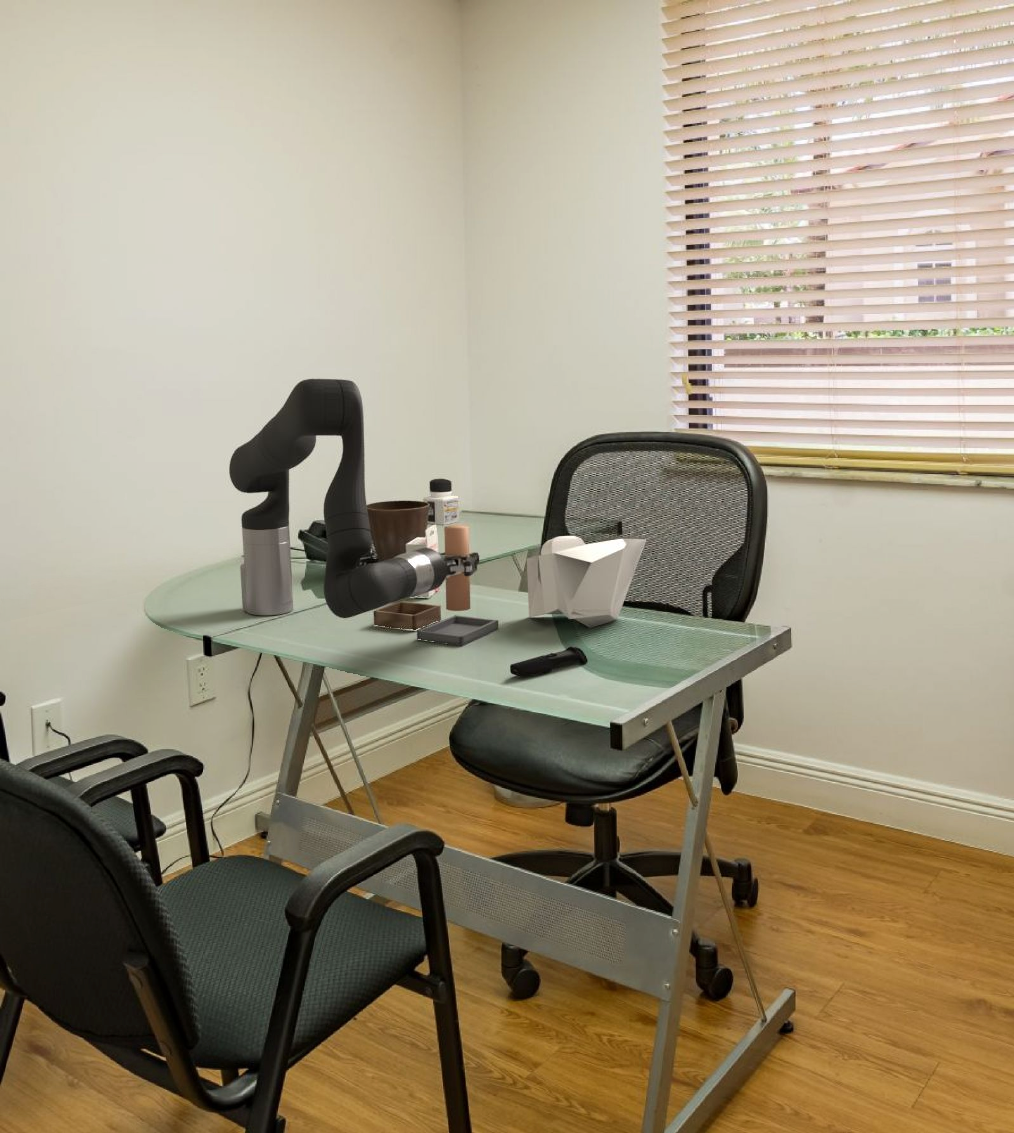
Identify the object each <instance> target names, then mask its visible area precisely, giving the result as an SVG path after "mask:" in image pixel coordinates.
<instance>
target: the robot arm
mask: <svg viewBox="0 0 1014 1133" xmlns="http://www.w3.org/2000/svg"><path fill="white" fill-rule="evenodd" d="M362 400H363V399H362V394H361V392H360V388H359V387H358V385H357V384H356V383H355V382H354V381H353V380H349V379H339V378H338V379H337V378H333V379H332V378H330V379H329V378H308V379H303V380H301V381H299V382H298V383H296V385H295V386H294V387H293V389H292V390H291V392H290V394H289V395H288V397H287V399H285V403H284V404H283V405H282V407H281V408H280V410H278V411H277V413H276V414H275V415H274V416H273V417H272V418H271V419H270V420H269V421H268V422H267V423H266V424H265V425H263V427H262V428H261V430H260V431H259V432H257V434H255V435H254V437H252V438H251V439H250V440H248V441H247V442H245V443H244V444H242V445H240V446H239V447H237V448H236V449H235V450H234V452H233V454H231V458H230V461H229V467H228V468H229V470H228V473H229V477H230V478H229V479H230V481H231V484H232V485H233V487H234V488H235V489H236V490H237V491H239V492H241V493H243V494H244V493H245V494H256V493H257V494H259V493H267V496H266V498H265V499H264V500H263V501H262V502H261V503H258V504H257V505H256V506H254V507H252V508H249V509H248V510H245V511H244V512H243V513H242V514H241V519H240V520H241V534H242V535H241V536H242V537H241V538H242V552H243V563H241V564H240V566H239V569H240V570H239V571H240V584H241V585H240V586H241V601H242V605H241V607H242V611H243V612H247V613H248V614H249V615H252V616H253V615H256V616H275V615H283V614H286V613H290V612H292V611H293V610H294V596H293V594H294V592H293V575H292V574H293V573H292V571H293V570H292V556H291V552H292V551H291V536H290V535H291V534H290V532H291V531H290V470H291V469H293V468H295V467H297V466H298V465H300V464H302V462H304V461H305V460H307V458H308V457H309V456H310V455H311V454H312V452H314V448H316V443H317V437H319V436H321V437H322V436H324V437H325V436H327V437H328V436H330V437H332V436H336V437H337V436H338V437H339V436H340V437H341V441H342V454H341V459H340V462H339V464H338V467H337V470H336V472H335V474H334V476H333V478H332V481H331V483H330V484H329V486H328V488H327V491H326V494H325V497H324V502H323V520H324V526H325V532H326V540H327V554H326V563H325V569H324V571H325V572H324V580H323V596H324V601H325V602H326V604H327V607H328V609H329V610H330V612H332V614H333V615H335V616H336V617H338V618H342V619H349V618H352V617H356V616H358V615H362V614H365V613H368V612H370V611H375V610H378V609H380V608H383V607H386V606H388V605H390V604H391V603H392V604H393V603H397V602H400V601H402V600H404V599H411V598H410V597H415V596H418V595H421V594H423V593H426V592H429V591H432V590H435V589H437V588H438V587H439V588H440V587H441V586H442V585H443V583H444V582H445V581H446V578H448V577H450V576H451V575H457V574H461V573H462V571H463V574H464V576H470V577H471V576H472V575H473V574H475V573H476V572H477V571H478V565H479V564H480V555H479V553H478V552H475V551H474V552H469V554H468V555H463V556H461V555H458V554H453V555H445V551H444V552H440V551H438V552H436V551H435V550H433V549H430V548H421V549H417V550H414V551H411V552H407V553H404V554H400V555H398V556H396V557H394V558H392V559H388V560H385V561H382V562H378V561H377V562H373V563H369V564H365V565H362V566H359V567H358V563H359V561H360V560H361V559H362V558H363V557H364V556H365V555H367V554H368V553H369V552H370V551H371V550H372V549H373V548H372V547H373V542H372V537H371V530H370V524H369V517H368V511H367V505H368V504H367V497H366V485H365V484H366V481H365V479H366V477H365V475H366V474H365V473H366V472H365V470H366V469H365V468H366V467H365V465H366V464H365V428H364V427H365V425H364V424H365V422H364V407H363V406H364V405H363V401H362ZM453 559H454V560H453ZM462 560H463V564H462Z"/></svg>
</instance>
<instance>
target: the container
mask: <svg viewBox="0 0 1014 1133" xmlns="http://www.w3.org/2000/svg"><path fill="white" fill-rule="evenodd" d="M452 483H453V482H452V480H451V479H449V478H433V479H431V480H429V495H430V496H426V497H423V499H422V500H423V501H422V502H427V503H429V504H430V505H429V516H428V524H427V525H435V524H436V526H437V525H439V526H448V525H450V524H454V523H458V522H459V523H460V508H459V507H460V502H459V500H460V499H459V496H457V495H452V493H453V490H452V488H453V487H452Z"/></svg>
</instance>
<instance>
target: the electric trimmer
mask: <svg viewBox="0 0 1014 1133" xmlns="http://www.w3.org/2000/svg"><path fill="white" fill-rule="evenodd" d="M588 661H589V660H588V658H587V656H586V653H585V652H584V650H582V649H581V648H580V647H576V646H568V647H567V648H566V649H563V650H561V651H557V652H554V653H553V652H550V653H548V654H543V655H539V656H536V657H533V658H529V659H525V660H522V661H519V662H515V663H511V664H510V666H509V671H510V674H512V675H514V676H516V677H520V678H522V677H527V676H528V677H529V676H535V675H543V674H548V673H551V672H552V671H553V670H558V669H561V668H564V667H568V666H573V665H577V664H581V665H586V663H588Z"/></svg>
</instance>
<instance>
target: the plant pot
mask: <svg viewBox="0 0 1014 1133" xmlns="http://www.w3.org/2000/svg"><path fill="white" fill-rule="evenodd" d="M366 505H367V511H368V517H369V524H370V530H371V537H372V546H373V548H374V550H375V554H376V557H377V559H378V561H379V562H382V561H385V560H388V559H392V558H394V557H396V556H398V555H400V554H404V553H406V544H407V543H409V542H411V541H412V540H414V539H415V538H417V537H422V538H426V534H425V530H426V529H428V525H429V524H428V516H429V505H430V504H429V503H427V502H423V501H421V500H386V501H379V502H378V501H375V502H372V503H367V504H366Z"/></svg>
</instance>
